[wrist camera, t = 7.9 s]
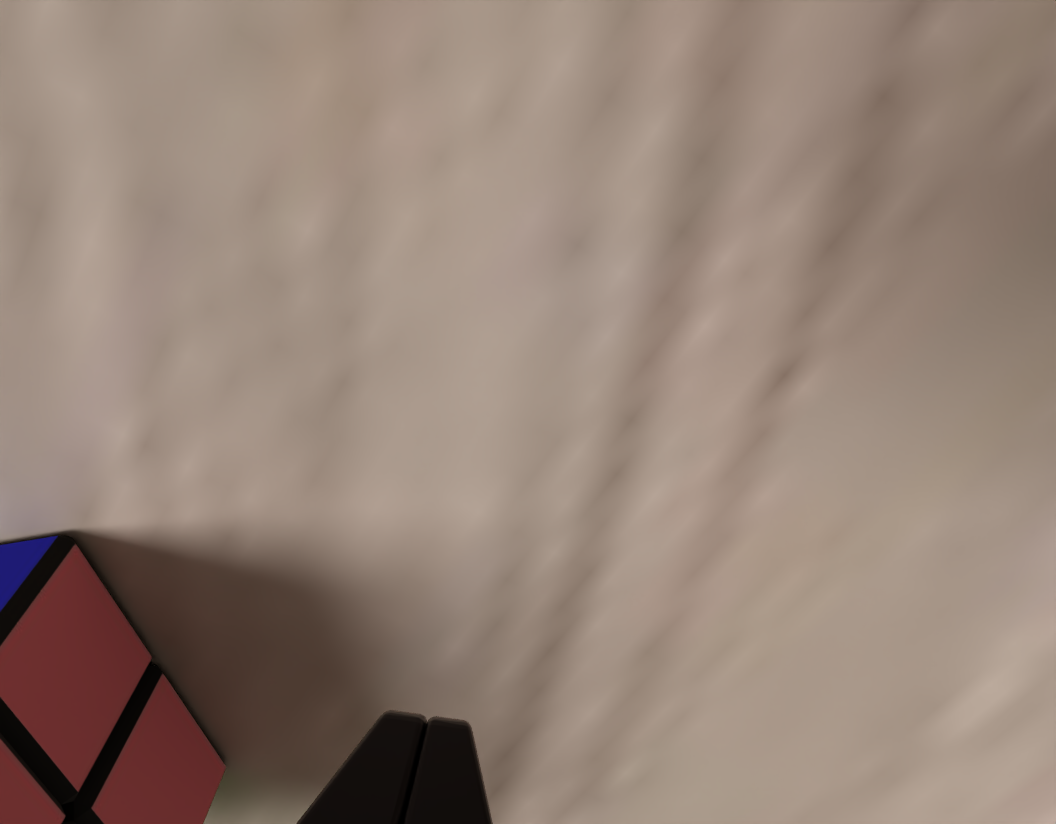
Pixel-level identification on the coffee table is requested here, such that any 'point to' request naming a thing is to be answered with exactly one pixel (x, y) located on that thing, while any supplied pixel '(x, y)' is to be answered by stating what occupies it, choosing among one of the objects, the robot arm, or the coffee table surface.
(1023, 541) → the coffee table surface
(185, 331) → the coffee table surface
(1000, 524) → the coffee table surface
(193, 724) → the puzzle cube
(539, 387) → the coffee table surface
